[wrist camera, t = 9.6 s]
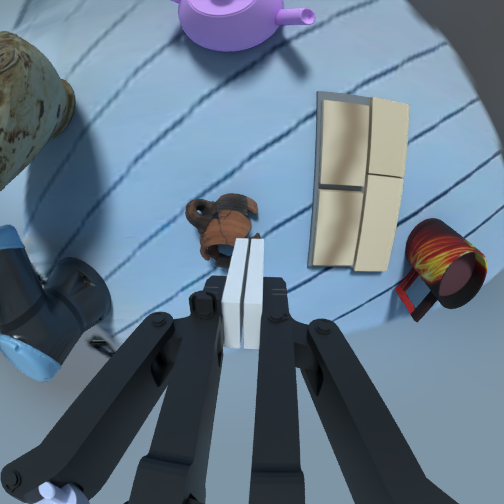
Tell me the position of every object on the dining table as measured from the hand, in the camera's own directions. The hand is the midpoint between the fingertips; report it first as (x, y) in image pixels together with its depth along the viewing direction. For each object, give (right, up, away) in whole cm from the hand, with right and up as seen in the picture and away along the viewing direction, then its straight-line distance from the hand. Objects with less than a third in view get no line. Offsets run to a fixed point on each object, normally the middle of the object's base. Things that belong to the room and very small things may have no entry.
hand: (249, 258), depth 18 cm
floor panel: (+15, +10, +20) cm, 27 cm away
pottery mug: (-4, +5, +24) cm, 25 cm away
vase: (-34, +26, +16) cm, 45 cm away
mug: (+30, 0, +24) cm, 39 cm away
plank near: (+12, +15, +16) cm, 25 cm away
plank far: (+12, +4, +22) cm, 25 cm away
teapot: (-2, +33, +10) cm, 34 cm away
